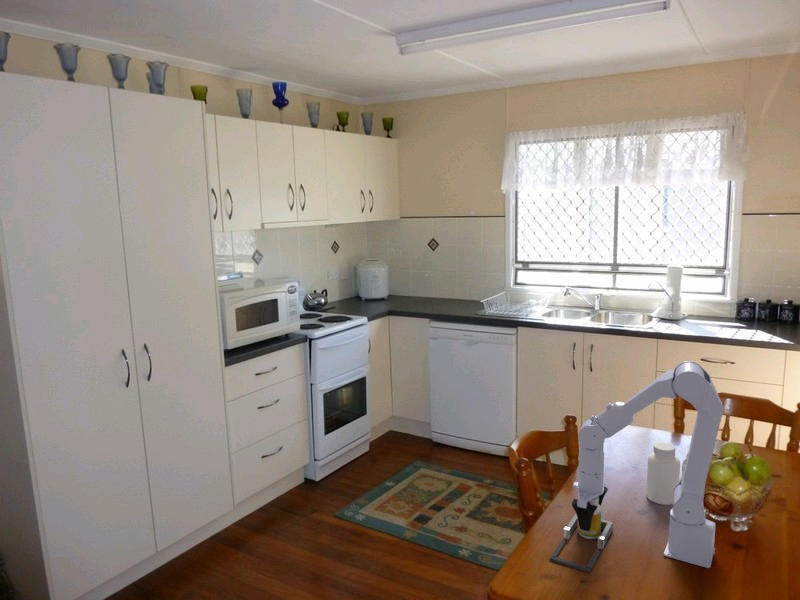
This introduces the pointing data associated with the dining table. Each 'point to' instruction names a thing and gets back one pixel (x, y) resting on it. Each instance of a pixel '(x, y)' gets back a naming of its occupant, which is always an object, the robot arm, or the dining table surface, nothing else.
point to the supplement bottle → (593, 522)
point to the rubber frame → (572, 564)
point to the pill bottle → (662, 474)
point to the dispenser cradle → (602, 539)
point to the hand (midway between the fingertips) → (589, 522)
